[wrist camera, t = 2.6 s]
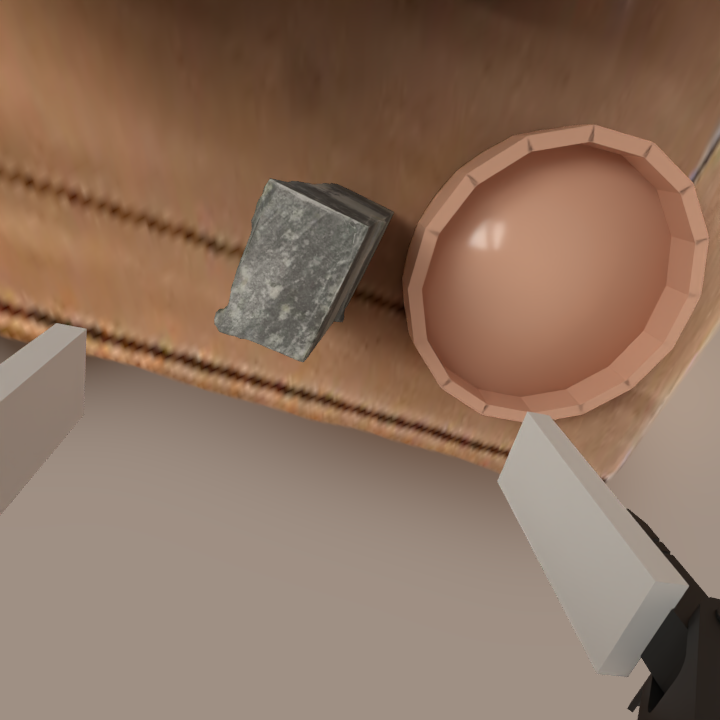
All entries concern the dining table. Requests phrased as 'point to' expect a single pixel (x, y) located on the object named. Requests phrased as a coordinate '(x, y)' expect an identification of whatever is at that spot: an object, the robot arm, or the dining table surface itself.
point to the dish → (554, 271)
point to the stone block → (301, 264)
